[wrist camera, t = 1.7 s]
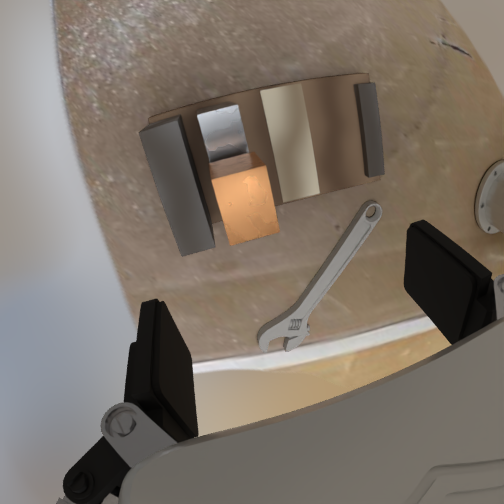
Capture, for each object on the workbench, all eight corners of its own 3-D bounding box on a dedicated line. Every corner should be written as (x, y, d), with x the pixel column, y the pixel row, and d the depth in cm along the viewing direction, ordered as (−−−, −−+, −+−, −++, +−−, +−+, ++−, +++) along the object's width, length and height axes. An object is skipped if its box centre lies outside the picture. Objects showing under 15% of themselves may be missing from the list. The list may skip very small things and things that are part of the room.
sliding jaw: (230, 100, 27) (253, 109, 16) (256, 208, 32) (288, 274, 22) (195, 110, 26) (196, 124, 16) (225, 217, 32) (242, 287, 22)
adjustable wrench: (365, 194, 37) (373, 199, 35) (395, 220, 40) (402, 225, 38) (249, 338, 45) (252, 347, 43) (284, 351, 47) (287, 359, 46)
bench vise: (359, 73, 29) (401, 74, 22) (372, 174, 35) (410, 199, 28) (150, 116, 28) (136, 126, 21) (184, 223, 34) (183, 261, 27)
